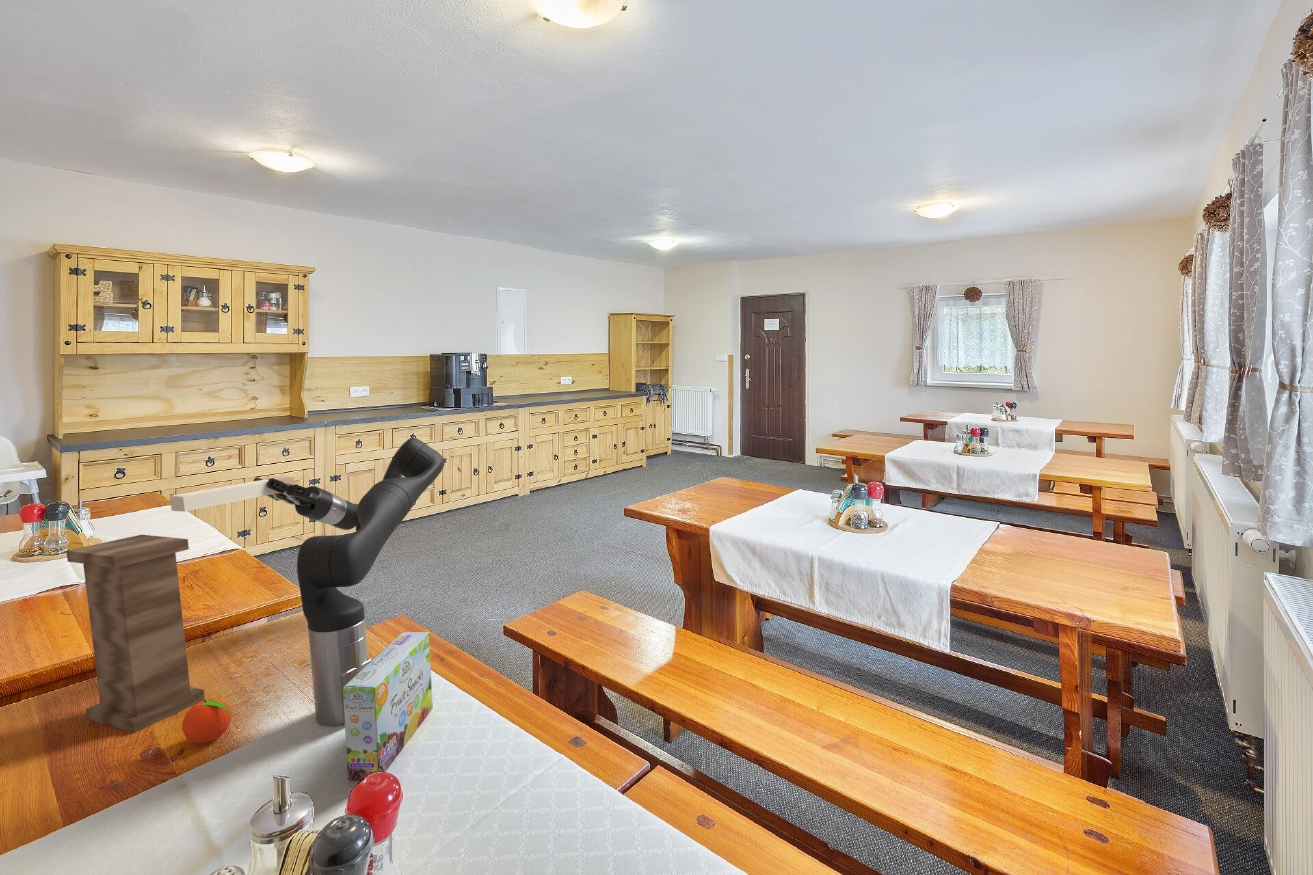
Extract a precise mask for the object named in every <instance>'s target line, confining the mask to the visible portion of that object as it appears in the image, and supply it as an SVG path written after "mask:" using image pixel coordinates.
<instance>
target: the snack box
mask: <svg viewBox="0 0 1313 875" xmlns="http://www.w3.org/2000/svg"><path fill="white" fill-rule="evenodd" d="M430 640H431V639H430V631H417V632H416V631H414V632H413V631H412V632H407V631H406V632H401V633H400V634H399V635H398V636H397V637H396V638H395V639H394V640H393V641H392V642H390V643H389V644H388V645H387V646H386V647H385V648H384V649H383V650H382V651H381V652H380V653H379V654H378V655H376V656H375V657H374V658H373V659H371V660H372V661H371V662H370V663H369V664H368V665H367V666H366V667H365V668H364V669H363V670H361V671H360V672H359V673H358V674H357V675H356V676H355V677H354V678H353V679H352V680H351V681H350V682H348V683H347V684H346V685H345V686H344V687H343V699H344V716H345V724H344V728H345V729H344V731H345V746H346V748H345V750H346V765H347V767H346V768H347V780H359V781H361V780H362V779H364V778H365V777H367V776H368V775H370V774H373V773H377V772H387V770H388V769H389V767H390V766H391V764H392V763H393V762H394V761H395V759H396V758H397V757H398V755H399V754H400V752H401V751H402V750H403V748H404V747H405V746H406V745H407V743H408V742H409V741H410V739H411V738H412V736H413V735H414V733H416V731H417V729H418V728H419V727H420V726H421V725H422V724H423V722H424V721H425V719H426V718H427V717H428V715H429V714H430V713H431V712H432V710H433V707H434V705H433V688H432V672H431V671H432V668H431V648H430V647H431V643H430Z"/></svg>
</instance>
